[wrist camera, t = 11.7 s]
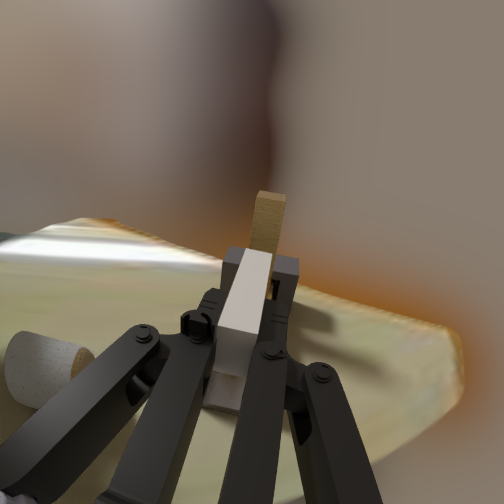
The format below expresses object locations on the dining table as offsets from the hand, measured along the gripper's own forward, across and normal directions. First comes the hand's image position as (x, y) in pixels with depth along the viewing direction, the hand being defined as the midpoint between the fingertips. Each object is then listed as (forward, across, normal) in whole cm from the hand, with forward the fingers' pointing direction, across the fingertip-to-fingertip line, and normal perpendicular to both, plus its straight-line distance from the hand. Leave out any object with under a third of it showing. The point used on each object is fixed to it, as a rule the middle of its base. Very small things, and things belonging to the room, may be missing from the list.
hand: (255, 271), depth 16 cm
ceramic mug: (-3, -17, -17) cm, 24 cm away
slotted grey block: (+20, 0, -17) cm, 26 cm away
